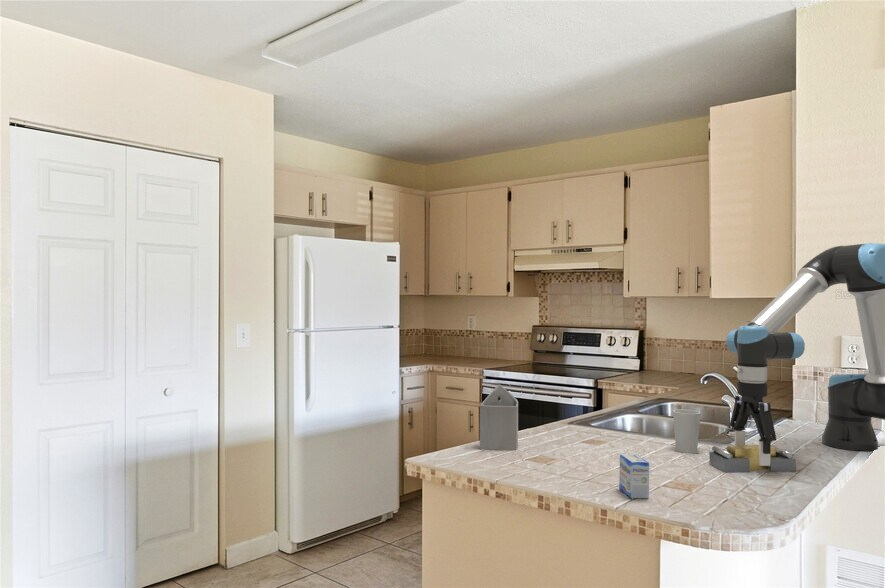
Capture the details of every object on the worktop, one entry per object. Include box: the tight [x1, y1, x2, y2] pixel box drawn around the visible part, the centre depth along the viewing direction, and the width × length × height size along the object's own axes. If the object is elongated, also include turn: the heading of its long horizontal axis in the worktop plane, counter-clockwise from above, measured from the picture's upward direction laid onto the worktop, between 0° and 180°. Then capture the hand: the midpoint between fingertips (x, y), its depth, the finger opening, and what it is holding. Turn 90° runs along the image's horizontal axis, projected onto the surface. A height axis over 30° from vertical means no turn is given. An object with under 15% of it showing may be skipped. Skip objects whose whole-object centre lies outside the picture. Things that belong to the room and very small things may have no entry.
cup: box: [672, 408, 701, 454], centre depth 195 cm, size 8×8×12 cm
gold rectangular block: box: [726, 444, 776, 471], centre depth 176 cm, size 12×4×6 cm, turn 97°
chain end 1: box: [708, 445, 751, 473], centre depth 175 cm, size 7×8×5 cm
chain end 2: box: [767, 445, 797, 473], centre depth 176 cm, size 7×8×5 cm
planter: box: [479, 384, 519, 451], centre depth 197 cm, size 16×8×19 cm, turn 129°
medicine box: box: [618, 453, 650, 499], centre depth 151 cm, size 8×4×9 cm, turn 5°
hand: (751, 459), depth 176 cm, fingers open, 12 cm apart
